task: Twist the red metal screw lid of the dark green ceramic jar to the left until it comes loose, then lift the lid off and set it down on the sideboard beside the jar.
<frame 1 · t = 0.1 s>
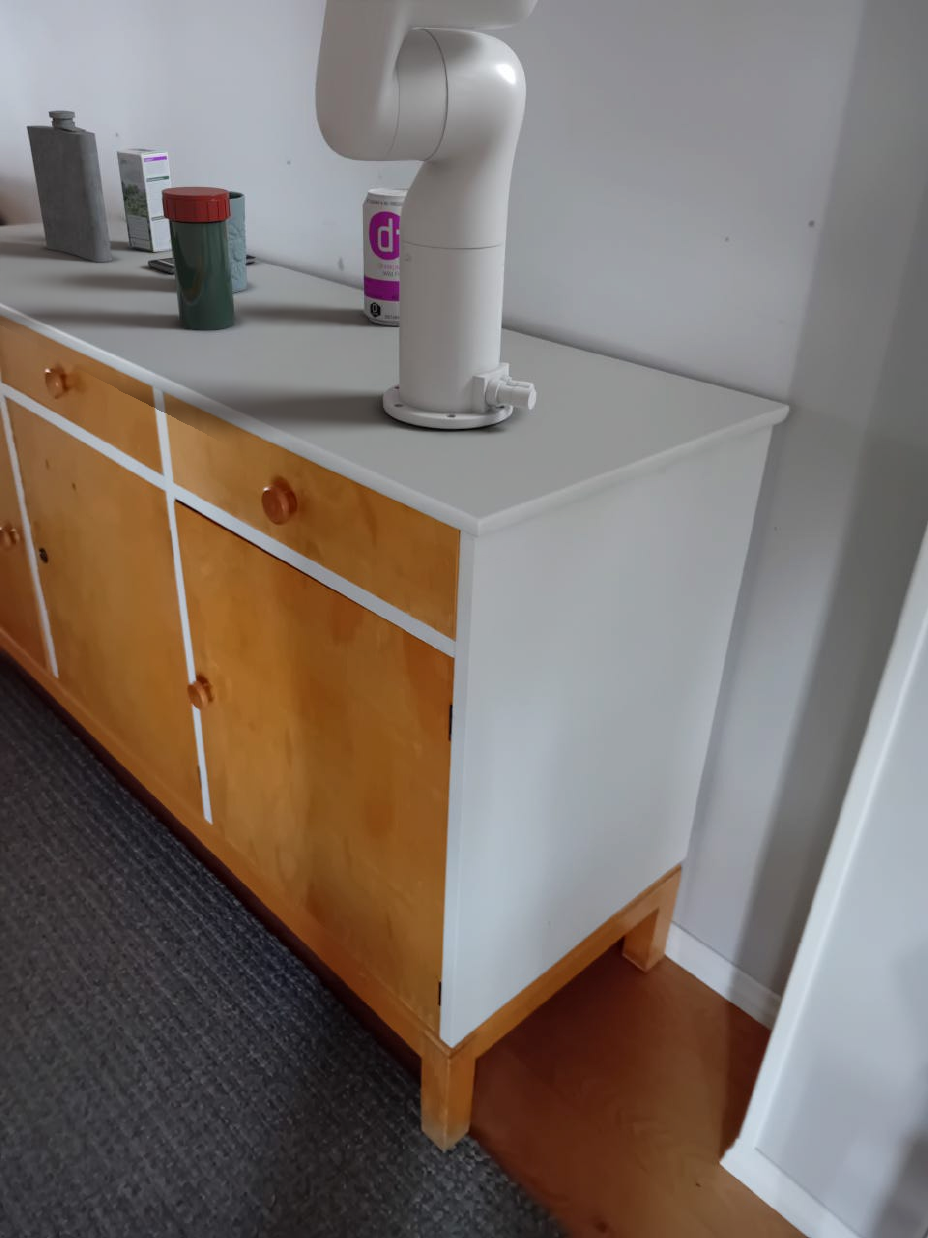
jar: (207, 323, 122), on the table
lid: (195, 195, 114), point 14 cm above the table, screwed on, not yet turned
hip flask: (81, 254, 156), on the table
smartphone: (203, 265, 151), on the table
embossed blue cup: (214, 288, 139), on the table
supplement can: (396, 320, 127), on the table
syrup box: (154, 249, 162), on the table
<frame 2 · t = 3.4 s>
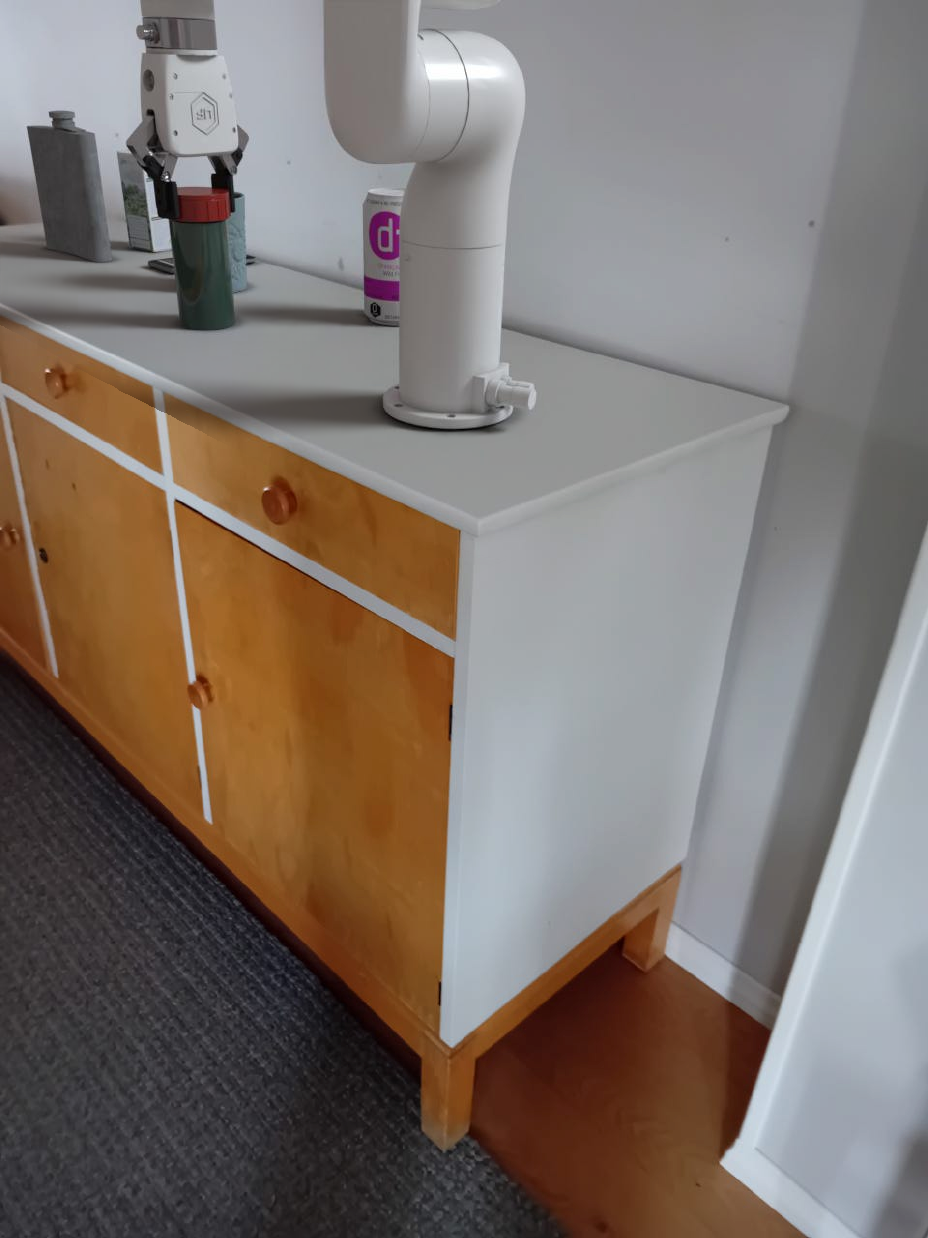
hand: (197, 213, 115), 13 cm above the table, tool pointing down, fingers closed on lid, 7 cm apart
lid: (195, 195, 114), point 14 cm above the table, screwed on, not yet turned, touching gripper
everything else where it was.
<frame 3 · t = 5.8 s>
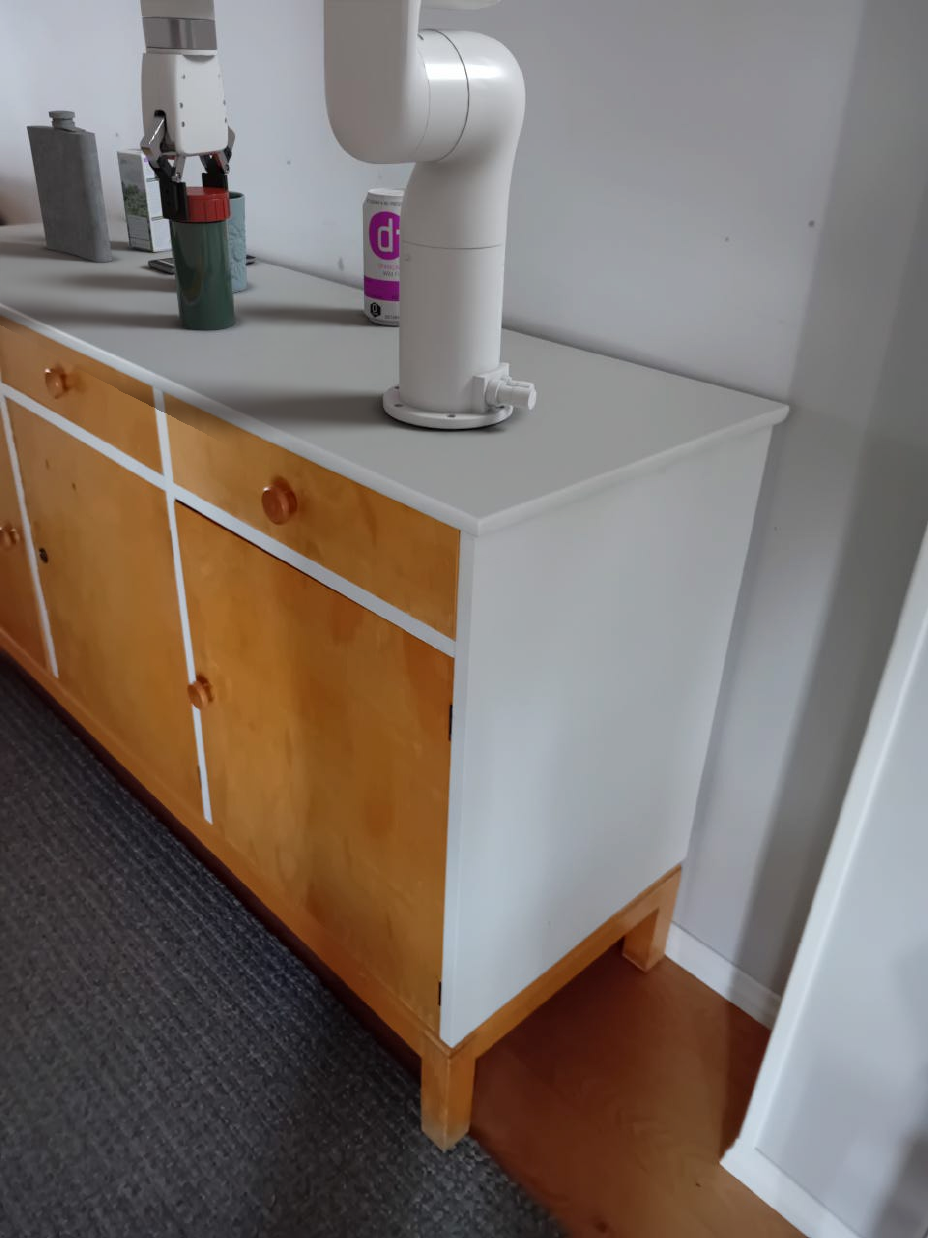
hand: (197, 213, 115), 13 cm above the table, tool pointing down, fingers closed on lid, 7 cm apart
lid: (195, 195, 114), point 15 cm above the table, off its thread, touching gripper
everything else where it was.
when the fingers open (0 cm above the table, at t = 14.5 s): lid stays where it is, point 2 cm above the table.
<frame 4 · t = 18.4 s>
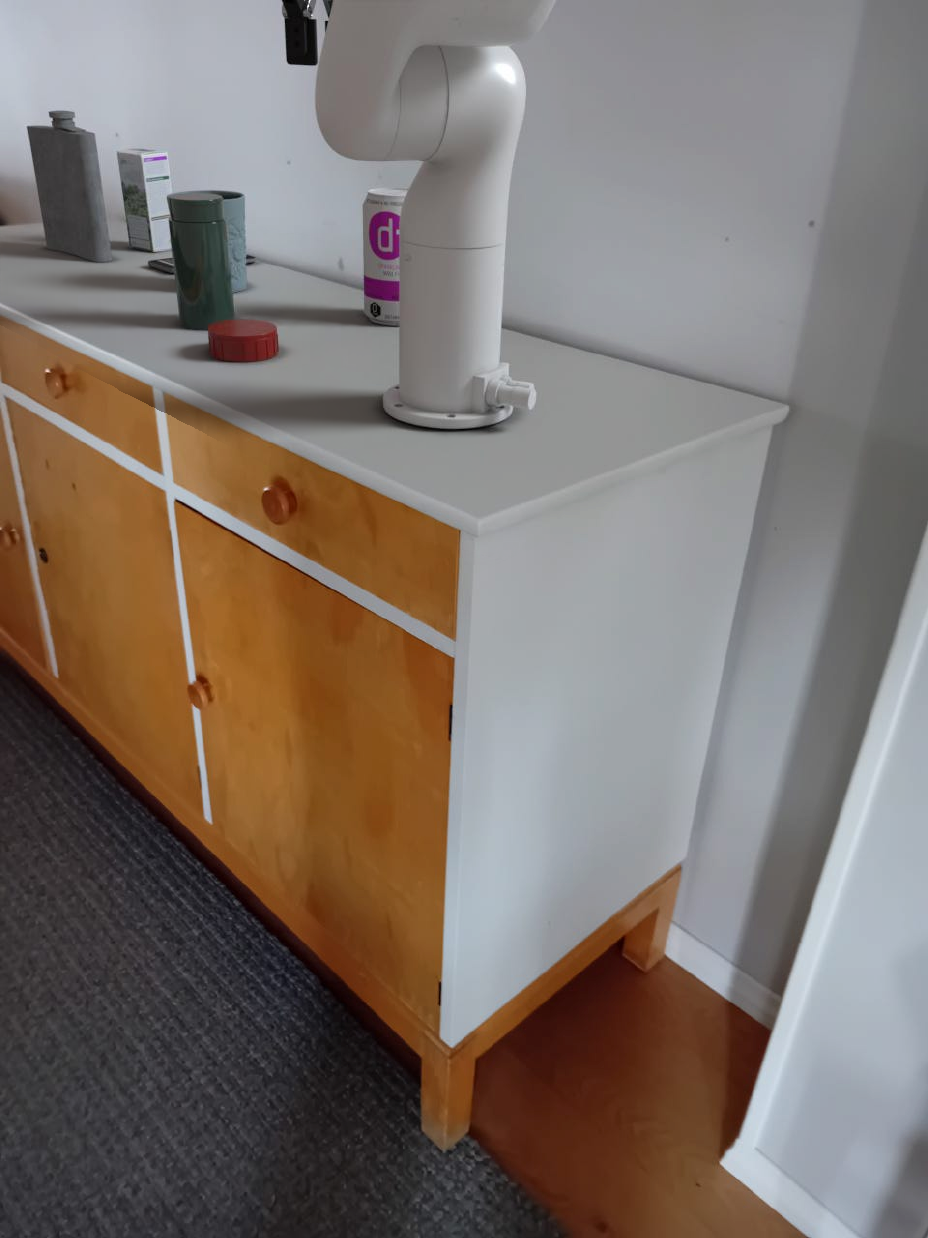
hand: (322, 64, 104), 28 cm above the table, tool pointing down, fingers open, 9 cm apart
lid: (242, 331, 110), point 2 cm above the table, off its thread
everything else where it was.
at the end: lid inside the target area (0.3 cm from its centre), point 2.3 cm above the table; jar tilted 0°; jar moved 0.0 cm from its start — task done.
